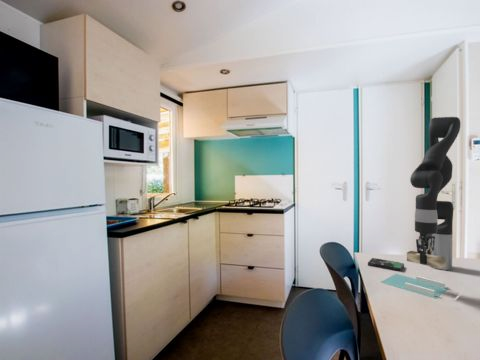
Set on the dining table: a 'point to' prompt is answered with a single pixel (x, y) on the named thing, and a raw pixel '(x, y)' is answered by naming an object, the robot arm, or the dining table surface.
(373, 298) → the dining table surface
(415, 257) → the tan rectangular block
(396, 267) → the disk drive
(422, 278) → the pair of grey bars
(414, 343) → the dining table surface
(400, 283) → the rubber mat
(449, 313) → the dining table surface
